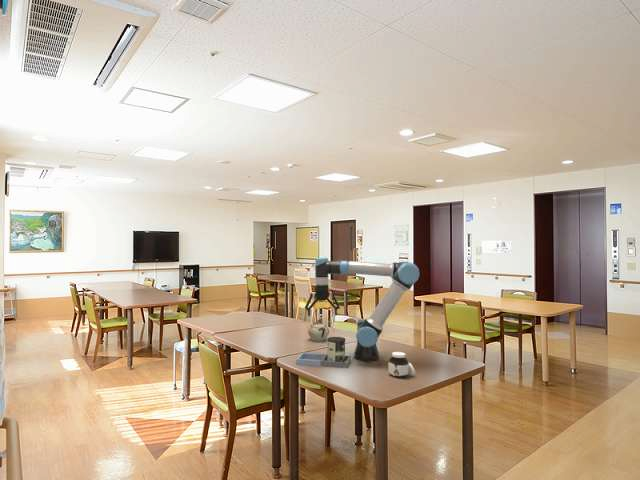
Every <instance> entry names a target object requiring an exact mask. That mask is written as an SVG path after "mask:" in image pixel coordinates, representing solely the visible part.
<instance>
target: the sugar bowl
mask: <svg viewBox="0 0 640 480" xmlns="http://www.w3.org/2000/svg"><path fill="white" fill-rule="evenodd" d="M307 333H308V336H309V337H310V339H311V340H312V341H313V342H317V343H321V342H325V341H326V339H327V338H328V336H329V334H330V329H329V327H328V326H327V325H326V324H323V323H321V319H317V321H316V322H314V323H313V324H312V325H310V326H309V327H308V329H307Z"/></svg>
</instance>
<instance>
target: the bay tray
mask: <svg viewBox="0 0 640 480" xmlns="http://www.w3.org/2000/svg"><path fill="white" fill-rule="evenodd" d="M351 358H352V357H351V355H345V362H333V361H327V354H326V353H311V352H301V353H300V355H299V356H298V357H297V358H296V359H295V365H300V366H311V367H313V366H314V367H316V366H317V367H328V368H340V369H348V368H349V365H350V363H351V361H352V360H351Z"/></svg>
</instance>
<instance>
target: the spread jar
mask: <svg viewBox="0 0 640 480" xmlns="http://www.w3.org/2000/svg"><path fill="white" fill-rule="evenodd" d="M387 367H388V373H389V375H390V376H391V377H393V378H396V379H403V378H406V377H407V376H408V375H409V376H411V377H413V376H414V375H416V370H415V368H414V366H413V364H412V363H411V362H410V361H409V360H408V359H407V357H406V353H405V352H401V351H394V352H391V357H390V358H389V359H388V366H387Z"/></svg>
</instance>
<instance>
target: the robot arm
mask: <svg viewBox="0 0 640 480" xmlns="http://www.w3.org/2000/svg"><path fill="white" fill-rule="evenodd" d="M314 261H315V263H314V265H315V266H314V271H315V272H314V274H315V276H314V277H315V279H314V280H315V292H314V293H313V292H311V293H309V298H308V300H307V302H306V304H305V306H304V309H305V310H307V315H308V317H309V322H310V323H312V319H313V318H312V308H313V307H315V305H316V303H317V302H318V301H319V302H322V301H324V302H325V301H327V302H328V303H329V304H330V306H332V308H333V309H332V310H333V311H332V314H333V318H332V319H333V320H332V321H333V322H336V316H337V315H338V310H339V309H340V308H341V306H340V305H339V303H338V300H337V299H336V296H335V292H329V286H330V285H329V275H348V274H353V275H354V274H355V275H364V276H366V275H367V276H377V277H378V276H379V277H390V279H391V280H392V283H391V284H390V285H389V287H388V289H387V290H386V292H385V293H384V295H383V297H382V298H381V299H380V301H379V303H378V304H377V305H376V307H375V308H374V310H373V311H372V313H371V315H369V317H366V318H365V319H364V318H363V319H362V318H359V319H358V320H357V323H356V336H355V337H356V346H355V350H354V353H353V358H354V359H355V360H359V361H364V362H373V361H377V360H379V359H380V353H379V350H378V347H377V345H378V344H377V342H378V340H379V337H380V335H381V334H382V333H383V331H384V328H383V326H384V324H385V323H386V322H387V320H388V318H389V316H390V315H391V314H392V312H393V311H394V309H395V308H396V306H397V304H398V303H399V301H400V300H401V299H402V297H403V295H404V294H405V292H407V291H410V289H412V287H413V286H414V284H415V283H416V282H418V280H419V277H420V269H419V268H418V266H417V264H415V263H413V262H408V261H401V262H391V263H383V262H369V261H368V262H367V261H356V260H355V261H354V260H343V259H338V260H329V258H328V257H317V258H315V260H314ZM314 297H315V298H314ZM329 297H331V298H332V299H333V302H334V303H335V304H334V303H333V302H332V301H331V300H330V299H329ZM313 298H314V300H313ZM312 300H313V301H312ZM310 303H311V304H310Z"/></svg>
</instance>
